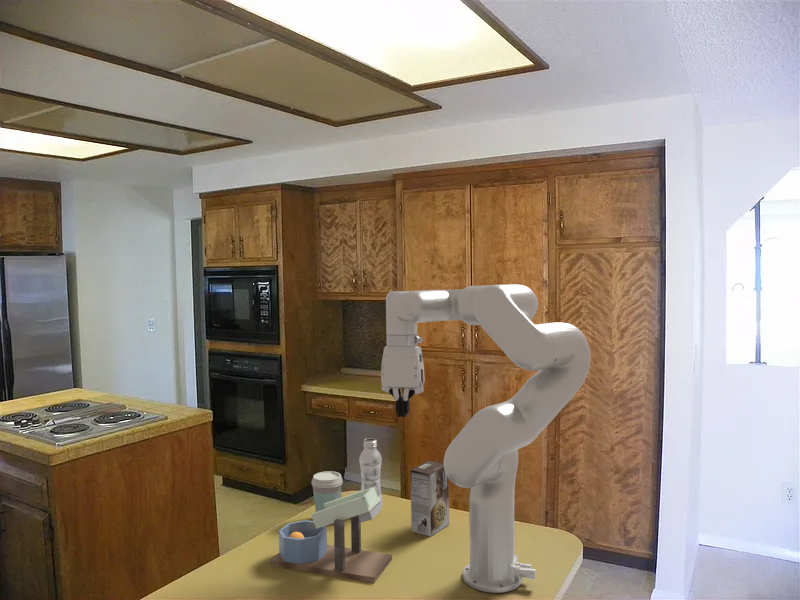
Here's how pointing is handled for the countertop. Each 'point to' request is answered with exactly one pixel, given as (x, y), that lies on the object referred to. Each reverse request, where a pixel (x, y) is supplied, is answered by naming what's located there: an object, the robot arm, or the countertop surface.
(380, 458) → the plastic bottle
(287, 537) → the blue cup
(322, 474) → the coffee cup
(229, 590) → the countertop surface
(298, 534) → the orange ball
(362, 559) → the stand
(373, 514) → the tipping tray
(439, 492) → the coffee box
